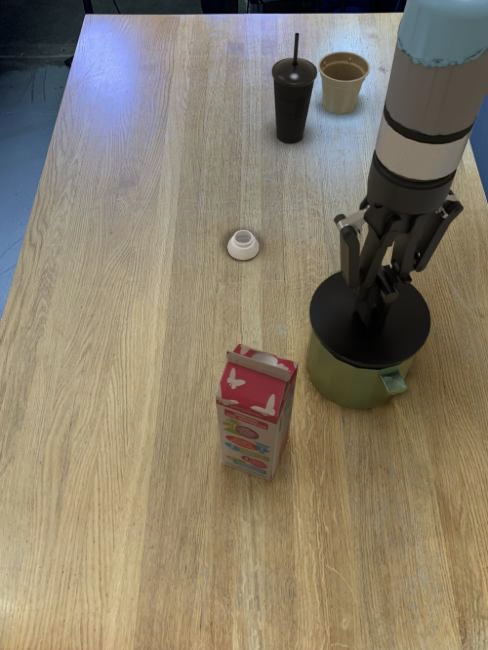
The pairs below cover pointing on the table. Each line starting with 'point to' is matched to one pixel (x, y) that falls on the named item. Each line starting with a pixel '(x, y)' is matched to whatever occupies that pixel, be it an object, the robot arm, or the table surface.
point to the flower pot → (342, 80)
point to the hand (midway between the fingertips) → (371, 309)
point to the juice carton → (255, 409)
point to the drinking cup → (292, 95)
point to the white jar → (243, 245)
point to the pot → (352, 378)
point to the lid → (370, 322)
